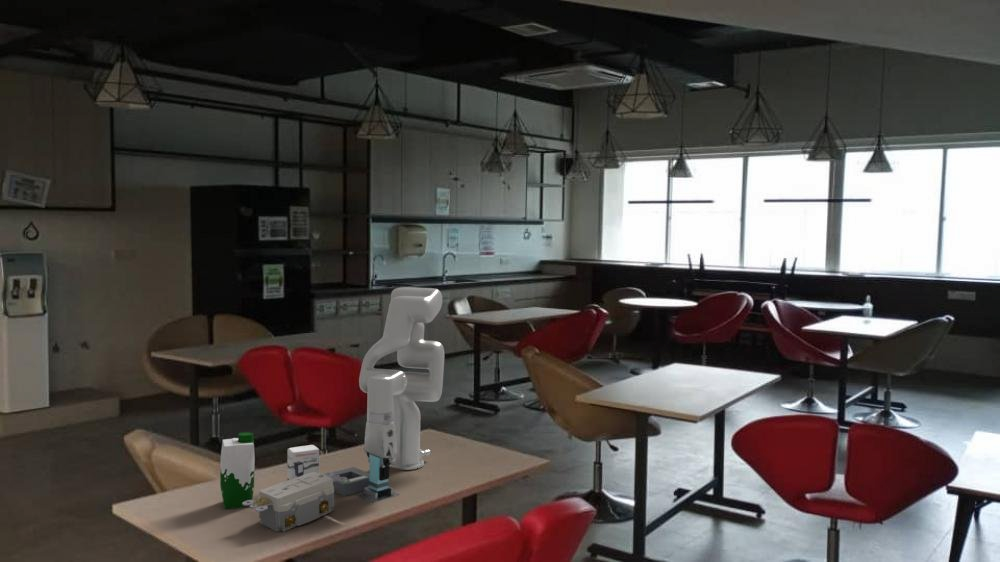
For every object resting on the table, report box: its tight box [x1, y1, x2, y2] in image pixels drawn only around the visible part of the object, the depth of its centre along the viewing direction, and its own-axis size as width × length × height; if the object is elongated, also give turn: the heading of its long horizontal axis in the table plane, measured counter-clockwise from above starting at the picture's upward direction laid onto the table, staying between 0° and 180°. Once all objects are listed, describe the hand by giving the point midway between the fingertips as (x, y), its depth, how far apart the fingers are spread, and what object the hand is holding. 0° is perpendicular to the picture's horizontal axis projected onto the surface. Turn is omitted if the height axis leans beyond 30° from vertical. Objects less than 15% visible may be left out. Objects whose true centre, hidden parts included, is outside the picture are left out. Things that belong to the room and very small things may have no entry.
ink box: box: [286, 444, 320, 481], centre depth 232 cm, size 8×5×12 cm, turn 123°
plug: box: [369, 454, 389, 491], centre depth 225 cm, size 4×4×10 cm
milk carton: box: [219, 431, 255, 510], centre depth 215 cm, size 9×9×20 cm
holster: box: [356, 485, 401, 503], centre depth 224 cm, size 10×8×3 cm
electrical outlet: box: [242, 471, 347, 533], centre depth 205 cm, size 12×28×10 cm, turn 140°
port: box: [327, 466, 370, 497], centre depth 231 cm, size 12×12×4 cm
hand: (379, 476), depth 225 cm, fingers closed on plug, 4 cm apart
